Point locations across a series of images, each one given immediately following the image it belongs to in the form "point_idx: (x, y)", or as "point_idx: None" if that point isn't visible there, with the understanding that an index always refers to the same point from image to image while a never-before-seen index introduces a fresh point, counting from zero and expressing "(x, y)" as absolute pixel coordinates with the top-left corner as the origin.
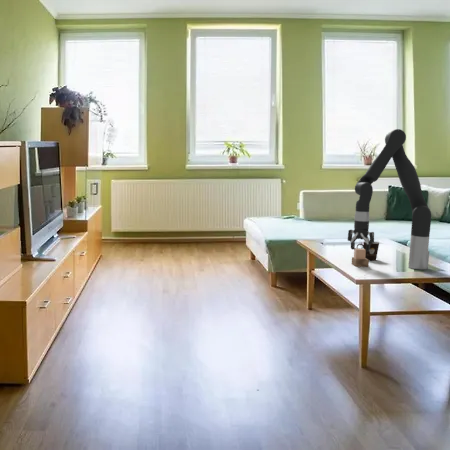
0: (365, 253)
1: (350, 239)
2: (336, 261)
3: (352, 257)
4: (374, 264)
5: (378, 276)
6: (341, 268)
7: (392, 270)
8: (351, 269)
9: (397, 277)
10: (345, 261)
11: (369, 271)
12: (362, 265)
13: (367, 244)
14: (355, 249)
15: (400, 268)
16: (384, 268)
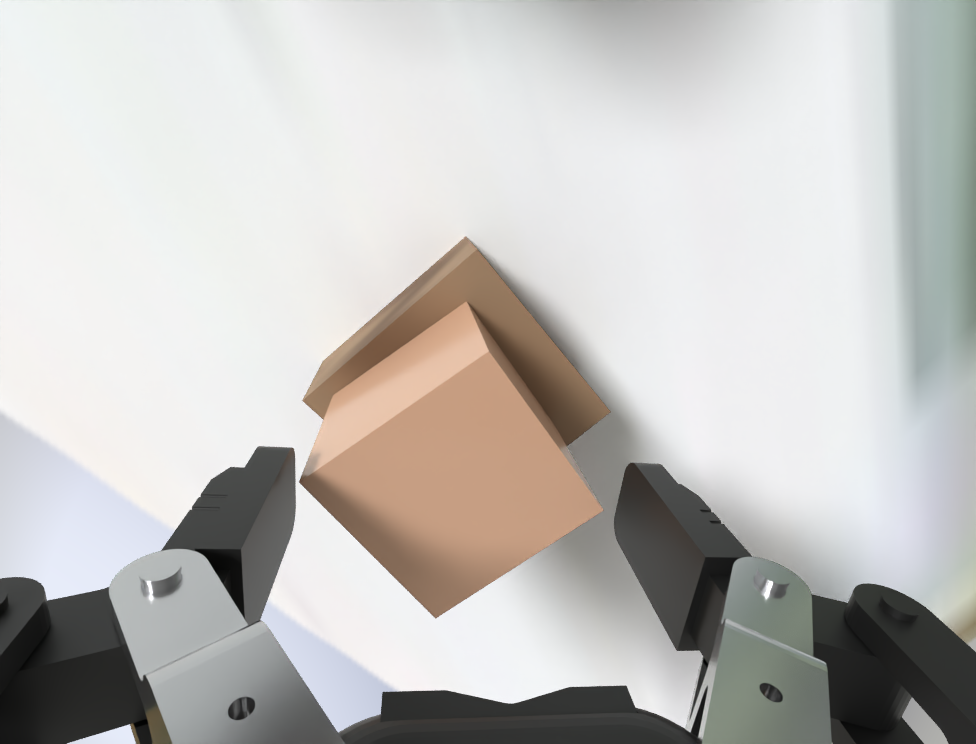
0: (579, 470)
1: (70, 728)
2: (39, 339)
3: (321, 415)
4: (583, 99)
5: None
6: (391, 682)
7: (867, 361)
8: (491, 649)
9: None
10: (122, 216)
11: None
12: None
13: (706, 637)
14: (386, 561)
15: (955, 129)
16: (769, 311)
